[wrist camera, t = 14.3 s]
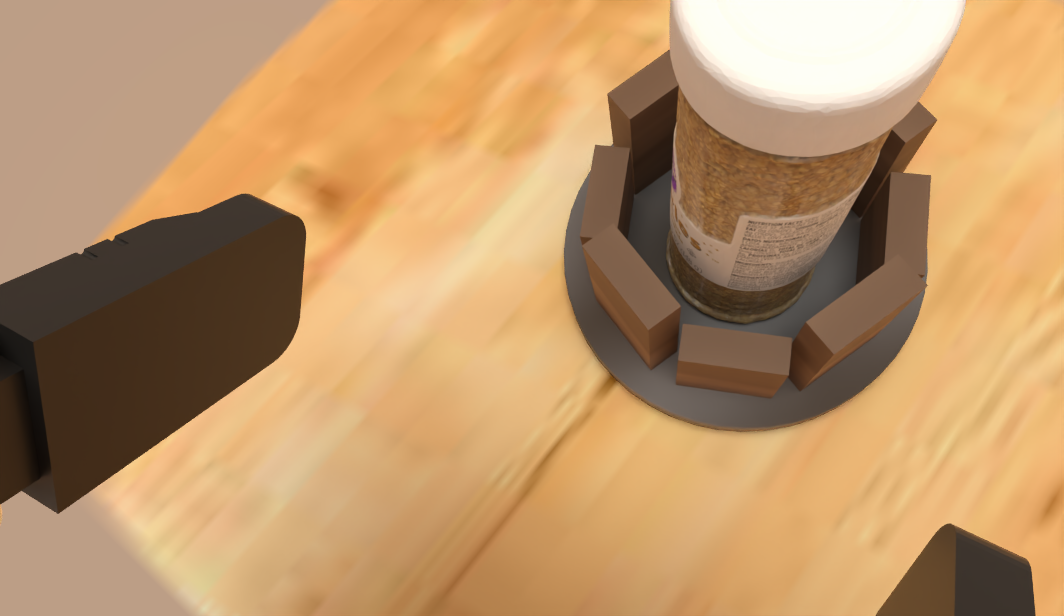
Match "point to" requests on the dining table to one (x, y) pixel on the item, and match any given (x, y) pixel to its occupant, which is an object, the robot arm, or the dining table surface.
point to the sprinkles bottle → (784, 134)
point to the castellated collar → (728, 347)
